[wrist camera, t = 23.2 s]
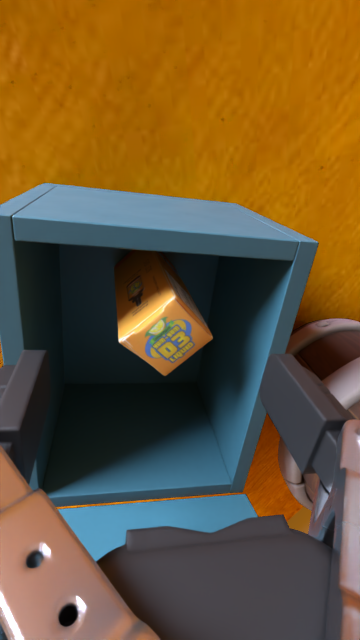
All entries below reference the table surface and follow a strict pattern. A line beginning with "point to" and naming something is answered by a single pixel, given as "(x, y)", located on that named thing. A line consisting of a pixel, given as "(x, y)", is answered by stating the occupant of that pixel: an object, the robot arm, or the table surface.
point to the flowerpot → (335, 373)
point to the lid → (153, 518)
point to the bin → (125, 366)
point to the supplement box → (156, 311)
